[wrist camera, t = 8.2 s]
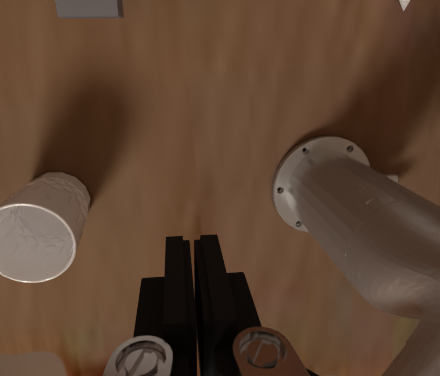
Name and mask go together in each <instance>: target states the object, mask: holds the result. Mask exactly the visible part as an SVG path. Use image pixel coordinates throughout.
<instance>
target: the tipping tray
mask: <svg viewBox="0 0 440 376" xmlns="http://www.w3.org/2000/svg"><path fill="white" fill-rule="evenodd" d="M55 3H56V9H57V15H58V18H64V19H72V18H124V15H123V4H122V0H55Z"/></svg>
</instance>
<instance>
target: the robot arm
mask: <svg viewBox="0 0 440 376" xmlns="http://www.w3.org/2000/svg"><path fill="white" fill-rule="evenodd" d="M347 147H348V148H347ZM303 148H305V150H304V151H302V150H303ZM279 187H280V188H279ZM278 188H279V189H278ZM272 198H273V202H274V205H275V208H276V210H277V211H278V213H279V215H280V216H281V217H282V218H283V220H284V221H285V222H286V223H288V224H289V225H290V226H292V227H293V228H295V229H297V230H300V231H304V232H310V233H311V235H312V236H313V237H314V238H315V240H316V241H317V242H318V243H319V244H320V246H321V247H322V248H323V249H324V251H325V252H326V253H327V254H328V256H329V257H330V258H331V259H332V261H333V262H334V263H335V264H336V265H337V267H338V268H339V269H340V270H341V272H342V273H343V274H344V275H345V277H346V278H347V279H348V280H349V281H350V283H351V284H352V285H353V286H354V287H355V288H356V290H357V291H358V292H359V293H360V294H361V295H362V296H363V297H364V298H365V299H366V300H367V301H368V302H369V303H371V304H372V305H373V306H375V307H377V308H379V309H380V310H382V311H384V312H387V313H390V314H393V315H396V316H400V317H405V318H412V319H419V320H420V322H419V324H418V326H417V327H416V329H415V330H414V332H413V333H412V335H411V336H410V337H409V339H408V340H407V341H406V345H405V346H404V348H403V349H402V350H401V351H400V353H399V354H398V355H397V357H396V358H395V359H394V360H393V362H392V363H391V364H390V366H389V367H388V368H387V369H386V371H385V372H384V373H383V375H382V376H440V206H438V205H436V204H434V203H432V202H431V201H429V200H427V199H425V198H423V197H422V196H420V195H418V194H416V193H414V192H413V191H411V190H409V189H407V188H406V187H404V186H402V185H400V184H398V177H397V175H396V174H384V175H382V174H381V173H379V172H377V171H376V170H374V169H372V168H371V167H370V163H369V161H368V158H367V156H366V155H365V153H364V152H363V151H362V149H360V148H359V147H358V146H357V145H356V144H354V143H353V142H351V141H349V140H347V139H344V138H342V137H338V136H332V135H327V136H318V137H314V138H311V139H308V140H306V141H304V142H302V143H300V144H299V145H297V146H296V147H294V148H293V149H292V150H291V151H290V152H289V153H288V154H287V155H286V156H285V157H284V158H283V160H282V161H281V162H280V164H279V166H278V168H277V170H276V172H275V175H274V179H273V183H272ZM297 221H298V222H297ZM194 278H195V299H194V288H193V276H192V265H191V254H190V243H189V240H183V236H173V237H166V252H165V277H151V278H142V280H141V287H140V294H139V301H138V308H137V315H136V322H135V330H134V337H133V338H132V339H129V340H127V341H125V342H124V343H122V344H121V345H120V346H118V347H117V348H116V349H115V350H114V352H113V353H112V355H111V357H110V359H109V361H108V364H107V366H106V369H105V371H104V374H103V376H197V344H198V356H199V367H200V376H319V375H317V374H315V373H313V372H312V371H310V370H308V369H306V368H305V366H304V365H303V363H302V361H301V360H300V358H299V356H298V355H297V353H296V351H295V350H294V348H293V347H292V345H291V343H290V342H289V341H288V339H287V338H286V337H285V336H284V335H282V334H281V333H279V332H278V331H276V330H273V329H271V328H267V327H262V326H261V323H260V320H259V317H258V314H257V311H256V308H255V305H254V302H253V299H252V296H251V293H250V290H249V287H248V284H247V281H246V278H245V275H244V273H243V272H236V273H226V269H225V264H224V260H223V256H222V252H221V248H220V244H219V240H218V236H217V235H201V236H200V240H194Z"/></svg>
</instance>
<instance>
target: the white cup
mask: <svg viewBox="0 0 440 376" xmlns="http://www.w3.org/2000/svg"><path fill="white" fill-rule="evenodd" d="M90 199H91V198H90V196H89V193H88V191H87V188H86V186H85V185H84V184H82V183H81V182H80V181H79V180H78V179H77V178H76V177H74V176H71V175H69V174H66V173H63V172H48V173H45V174H43V175H41V176H39V177H37V178H35V179H34V180H32V181H31V182H30V183H28V184H27V185H25V186H24V187H22V188H21V189H20V190H18V191H17V192H16V193H14V194H13V195H12V196H10V197H9V198H8V199H7V200H6V201H4V202H3V203H2V204H1V205H0V274H1V275H2V276H4V277H7V278H9V279H12V280H15V281H20V282H28V283H35V282H43V281H47V280H50V279H53V278H55V277H57V276H59V275H60V274H62V273H63V272H64V271H65V270H66V269H67V268H68V267H69V266H70V265H71V263H72V261H73V259H74V257H75V254H76V251H77V248H78V245H79V242H80V239H81V236H82V234H83V231H84V227H85V224H86V220H87V216H88V212H89V208H90Z"/></svg>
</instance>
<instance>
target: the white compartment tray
mask: <svg viewBox="0 0 440 376" xmlns="http://www.w3.org/2000/svg"><path fill="white" fill-rule="evenodd" d="M399 1H400V4H401V6H402V9H403V12H404V10H405V8H406V7H407V5H408V3H409V2H410V0H399Z"/></svg>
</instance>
